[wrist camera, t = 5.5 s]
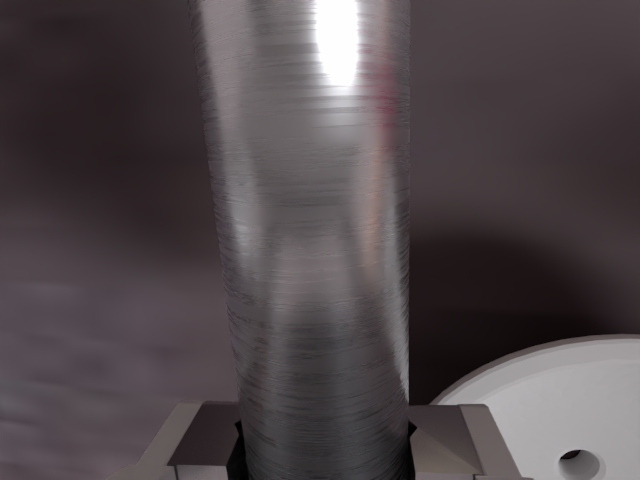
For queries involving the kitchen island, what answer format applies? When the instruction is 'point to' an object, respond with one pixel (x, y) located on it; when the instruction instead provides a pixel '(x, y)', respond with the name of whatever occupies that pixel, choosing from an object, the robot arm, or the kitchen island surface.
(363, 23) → the shaft
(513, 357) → the dish
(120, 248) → the kitchen island surface
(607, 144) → the kitchen island surface
